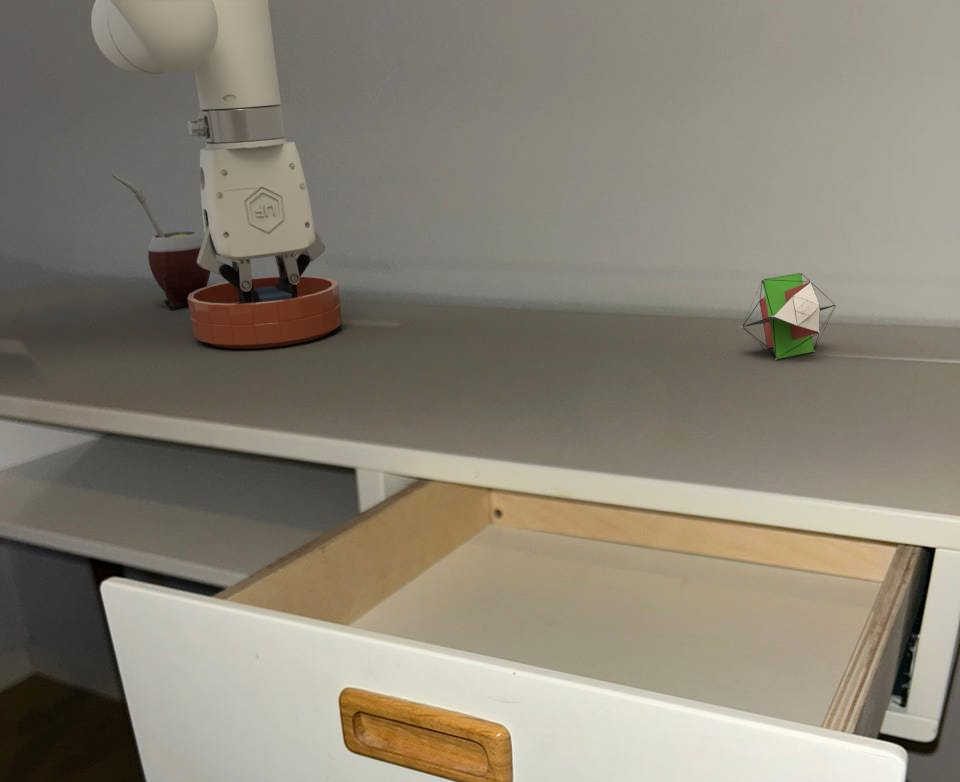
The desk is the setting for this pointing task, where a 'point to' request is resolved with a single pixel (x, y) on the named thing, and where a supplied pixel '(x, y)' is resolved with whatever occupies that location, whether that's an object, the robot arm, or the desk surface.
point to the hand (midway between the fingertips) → (272, 324)
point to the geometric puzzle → (789, 315)
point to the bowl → (265, 314)
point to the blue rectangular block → (272, 294)
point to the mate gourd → (173, 259)
